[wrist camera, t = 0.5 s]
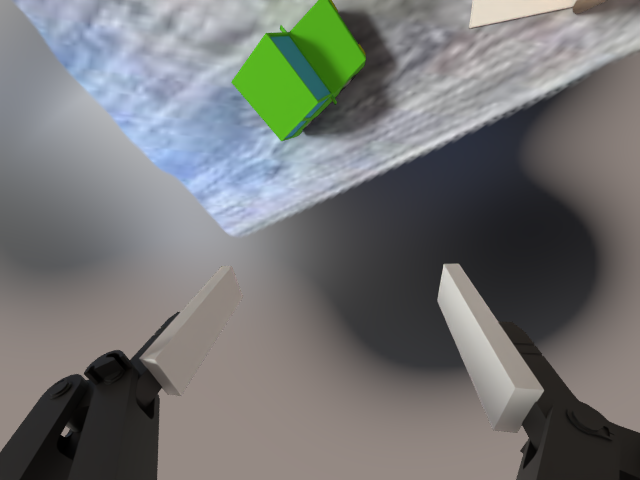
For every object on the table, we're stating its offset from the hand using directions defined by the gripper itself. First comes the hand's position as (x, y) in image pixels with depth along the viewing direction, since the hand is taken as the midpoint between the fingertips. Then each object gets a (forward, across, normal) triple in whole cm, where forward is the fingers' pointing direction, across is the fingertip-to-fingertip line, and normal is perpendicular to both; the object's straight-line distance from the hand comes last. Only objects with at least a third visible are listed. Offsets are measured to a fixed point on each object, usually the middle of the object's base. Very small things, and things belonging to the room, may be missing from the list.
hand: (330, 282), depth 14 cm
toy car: (+28, -4, +14) cm, 32 cm away
